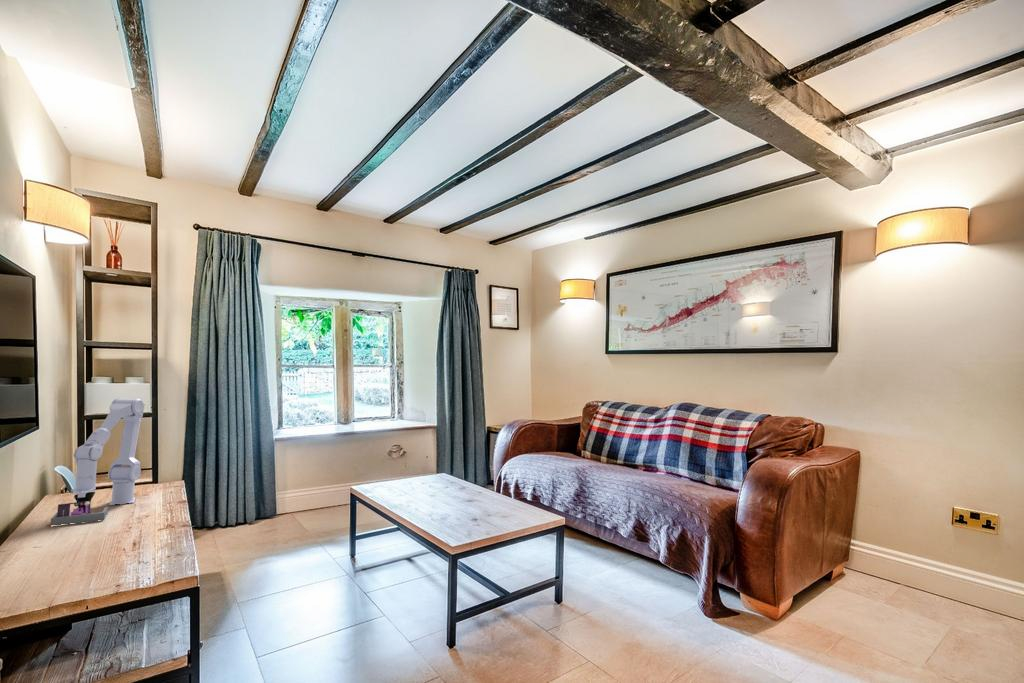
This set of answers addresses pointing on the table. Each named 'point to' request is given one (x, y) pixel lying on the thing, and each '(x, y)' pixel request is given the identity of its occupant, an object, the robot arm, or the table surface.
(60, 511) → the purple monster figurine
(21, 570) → the table surface
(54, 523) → the holder
